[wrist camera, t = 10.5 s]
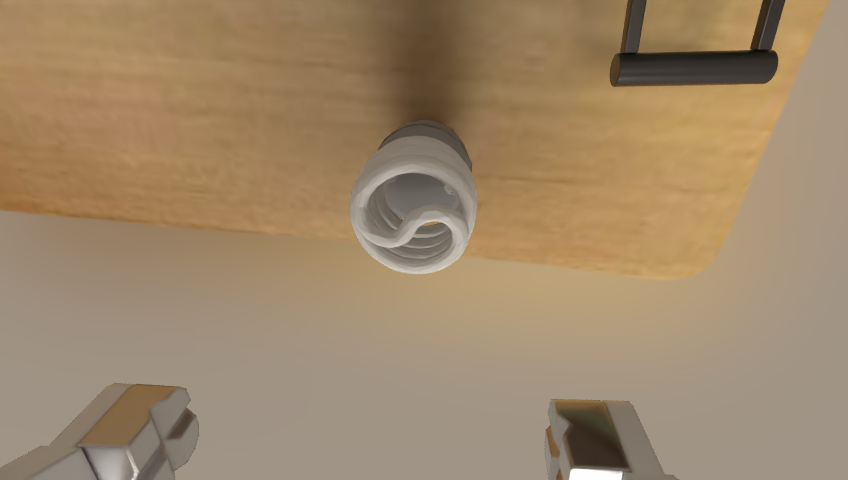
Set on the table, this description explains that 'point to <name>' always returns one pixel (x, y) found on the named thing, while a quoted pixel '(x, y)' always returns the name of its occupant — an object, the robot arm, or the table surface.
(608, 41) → the table surface
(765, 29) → the drawer
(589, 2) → the table surface
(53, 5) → the table surface
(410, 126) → the light bulb
